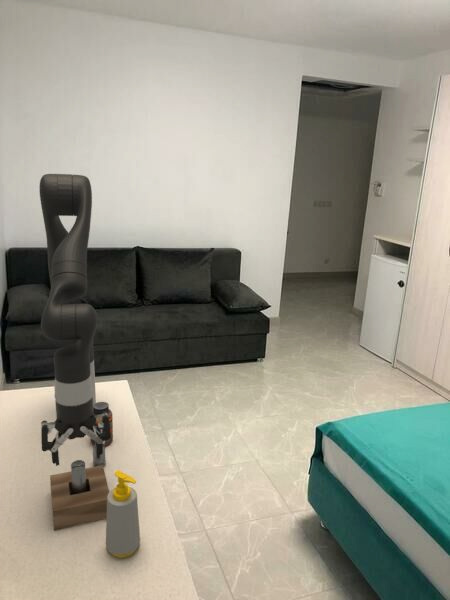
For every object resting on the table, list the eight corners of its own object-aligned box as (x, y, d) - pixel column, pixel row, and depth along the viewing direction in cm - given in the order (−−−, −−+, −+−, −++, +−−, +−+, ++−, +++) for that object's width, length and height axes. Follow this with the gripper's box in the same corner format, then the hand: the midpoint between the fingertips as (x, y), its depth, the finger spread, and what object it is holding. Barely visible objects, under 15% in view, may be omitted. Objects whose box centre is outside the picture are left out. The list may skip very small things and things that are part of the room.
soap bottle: (124, 566, 95) (122, 491, 90) (98, 550, 99) (95, 476, 93) (147, 543, 101) (147, 471, 95) (122, 529, 104) (120, 458, 99)
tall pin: (72, 502, 111) (70, 461, 108) (86, 499, 112) (84, 458, 109) (74, 511, 109) (71, 469, 105) (88, 508, 110) (85, 467, 106)
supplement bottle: (107, 449, 130) (106, 412, 127) (86, 445, 131) (85, 409, 128) (116, 436, 136) (115, 401, 132) (96, 433, 137) (95, 398, 133)
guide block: (51, 493, 114) (49, 475, 112) (103, 482, 118) (102, 465, 116) (54, 530, 103) (52, 511, 102) (111, 517, 108) (110, 498, 106)
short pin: (92, 462, 125) (92, 446, 123) (104, 460, 126) (104, 443, 124) (94, 469, 122) (93, 452, 121) (106, 467, 123) (105, 450, 122)
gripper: (106, 381, 107) (108, 443, 113) (37, 390, 102) (42, 455, 108) (111, 398, 101) (113, 463, 106) (38, 409, 96) (44, 477, 101)
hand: (77, 459), depth 107 cm, fingers open, 8 cm apart
